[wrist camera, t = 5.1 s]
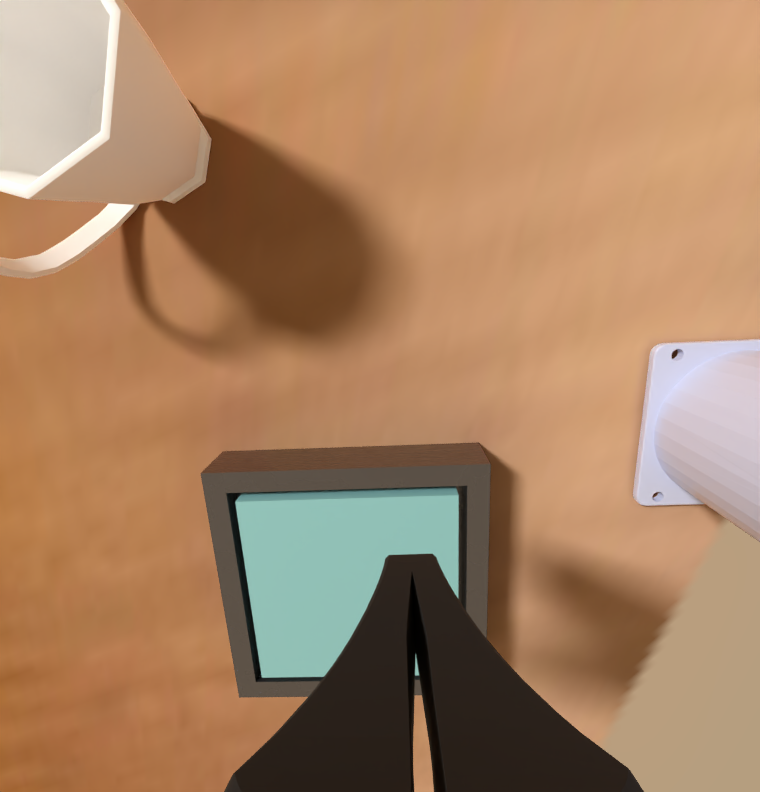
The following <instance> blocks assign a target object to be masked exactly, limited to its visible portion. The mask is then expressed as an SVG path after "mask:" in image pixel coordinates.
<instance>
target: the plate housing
mask: <svg viewBox="0 0 760 792" xmlns="http://www.w3.org/2000/svg"><path fill="white" fill-rule="evenodd" d="M490 473H491V464H490V462H489V460H488V458H487V456H486V455H485V453H484V451H483V449H482V448H481V446H480V444H479V443H460V444H431V445H402V446H372V447H343V448H314V449H285V450H256V451H227V452H222V453H221V454H220V455H219V456H218V457H217V458H216V459H215V460H214V461H213V462H212V463H211V464H210V465H209V466H208V467H207V468H206V469H205V470H204V471H203V472H202V473H201V478H202V484H203V489H204V495H205V501H206V507H207V513H208V518H209V524H210V530H211V536H212V542H213V547H214V553H215V559H216V565H217V571H218V577H219V582H220V588H221V594H222V600H223V606H224V611H225V617H226V623H227V629H228V635H229V640H230V646H231V652H232V658H233V664H234V670H235V675H236V681H237V687H238V693H239V697H309V695H310V694H311V693H312V692H313V690H314V689H315V688H316V687H317V685H318V684H319V683H320V681H321V680H322V679H323V677H272V678H262V675H261V668H260V662H259V655H258V649H257V642H256V635H255V629H254V622H253V616H252V609H251V602H250V596H249V589H248V583H247V576H246V570H245V563H244V556H243V550H242V543H241V537H240V530H239V523H238V517H237V510H236V504H235V502H236V500H237V499H238V497H239V496H240V495H241V493H244V492H277V491H310V490H342V489H375V488H408V487H440V486H456V489H457V492H458V495H459V534H458V599H459V601H460V602H461V604H462V605H463V607H464V608H465V610H466V611H467V613H468V614H469V616H470V617H471V619H472V620H473V621H474V623H475V624H476V625H477V627H478V628H479V629H480V631H481V632H482V634H483V635H484V636H485V637H486V639H487V602H488V559H489V516H490ZM414 695H422V691H421V685H420V678H419V675H415V693H414Z"/></svg>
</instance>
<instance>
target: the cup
mask: <svg viewBox="0 0 760 792" xmlns="http://www.w3.org/2000/svg"><path fill="white" fill-rule="evenodd" d="M211 140H212V139H211V137H210V136H209V134H208V132H207V131H206V129H205V127H204V126H203V124H202V122H201V121H200V119H199V117H198V116H197V114H196V112H195V111H194V109H193V107H192V106H191V104H190V102H189V101H188V99H187V98H186V97H185V96H184V94H183V92H182V91H181V89H180V87H179V86H178V84H177V82H176V81H175V79H174V78H173V76H172V74H171V73H170V71H169V69H168V68H167V66H166V64H165V63H164V61H163V59H162V58H161V56H160V54H159V53H158V51H157V49H156V48H155V46H154V44H153V43H152V41H151V39H150V38H149V36H148V35H147V33H146V32H145V30H144V29H143V28H142V26H141V25H140V23H139V22H138V20H137V19H136V18H135V16H134V15H133V13H132V12H131V10H130V9H129V8H128V6H127V5H126V3H125V2H124V0H0V191H2V192H5V193H9V194H12V195H16V196H20V197H23V198H27V199H37V200H53V201H77V202H99V203H109V204H108V205H107V206H106V207H105V208H104V209H103V210H102V211H101V212H100V213H99V214H98V215H97V216H96V217H94V218H93V219H92V220H90V221H89V222H88V223H87V224H85V225H84V226H83V227H81V228H80V229H79V230H77V231H76V232H75V233H73V234H72V235H70V236H69V237H68V238H66V239H65V240H64V241H62V242H61V243H59V244H57V245H55V246H54V247H52V248H50V249H48V250H47V251H45V252H43V253H41V254H40V255H35V256H29V257H24V258H19V259H9V258H3V257H0V274H1V275H4V276H9V277H18V278H28V279H31V278H36V277H40V276H44V275H49V274H53V273H56V272H58V271H60V270H62V269H63V268H65V267H67V266H69V265H71V264H72V263H74V262H76V261H78V260H79V259H80V258H82V257H83V256H84V255H86V254H87V253H88V252H90V251H91V250H92V249H93V248H95V247H96V246H97V245H99V244H100V243H101V242H102V241H103V240H105V239H106V238H107V237H108V236H110V235H111V234H112V233H113V232H114V231H116V230H117V229H118V228H119V227H120V226H121V225H122V224H123V223H124V222H125V221H126V220H127V219H128V218H129V217H130V216H131V215H132V214H133V213H134V212H135V211H136V209H137V208H138V206H139V204H141V203H147V202H154V201H160V200H163V201H167V202H170V203H176V202H177V201H179V200H180V199H182V198H183V197H185V196H186V195H188V194H189V193H190V192H192V191H193V190H195V189H196V188H198V187H199V186H201V185H202V184H203V183H205V182H206V175H207V168H208V161H209V154H210V147H211Z"/></svg>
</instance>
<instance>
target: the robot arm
mask: <svg viewBox="0 0 760 792" xmlns="http://www.w3.org/2000/svg"><path fill="white" fill-rule="evenodd" d="M676 349H677V351H678V354H677V356H676V357H675V358H674V359H672V356H671V355H672V352H673V351H674V350H676ZM656 492H658V495H657V496H656V497H653V498H652V496H653V494H655V493H656ZM633 498H634V499H635V501H637V502H638V503H639V504H641V505H644V506H657V505H692V504H706V505H707V506H709V507H710V508H712V509H713V510H714V511H716V512H717V513H719V514H720V515H722V516H723V517H724V518H726V519H727V520H729V521H730V522H732V523H733V524H735V525H736V526H737V527H739V528H740V529H742V530H743V531H745V532H746V533H748V534H749V535H751V536H752V537H753V538H755V539H756V540H758V541H759V542H760V339H746V340H723V341H699V342H675V343H661V344H657V345H656V346H654V347H653V349H652V350H651V353H650V357H649V366H648V374H647V382H646V390H645V399H644V407H643V415H642V424H641V432H640V440H639V448H638V457H637V465H636V473H635V481H634V490H633ZM416 658H417V665H418V672H419V678H420V685H421V691H422V698H423V704H424V711H425V718H426V724H427V731H428V737H429V744H430V752H431V761H432V771H433V784H434V792H644V791H643V790H642V788H641V787H640V785H639V783H638V782H637V780H636V779H635V777H634V776H633V774H632V773H631V771H630V770H629V769H628V768H627V767H626V766H624V765H623V764H622V763H620V762H619V761H618V760H616V759H615V758H614V757H612V756H611V755H609V754H608V753H607V752H606V751H604V750H603V749H602V748H600V747H599V746H598V745H596V744H595V743H594V742H592V741H591V740H590V739H588V738H587V737H586V736H584V735H583V734H582V733H581V732H579V731H578V730H577V729H576V728H575V727H573V726H572V725H571V724H570V723H569V722H568V721H566V720H565V719H564V718H563V717H562V716H561V715H559V714H558V713H557V712H556V711H555V710H554V709H553V708H552V707H551V706H550V705H549V704H548V703H547V702H546V701H545V700H543V699H542V698H541V697H540V696H539V695H538V694H537V693H536V692H535V691H534V690H533V689H532V688H531V687H530V686H529V685H528V684H527V683H526V682H525V681H524V680H523V679H522V678H521V677H520V676H519V675H518V674H517V673H516V672H515V671H514V670H513V669H512V668H511V667H510V666H509V664H508V663H507V662H506V661H505V660H504V659H503V658H502V657H501V655H500V654H499V653H498V652H497V651H496V650H495V648H494V647H493V646H492V645H491V644H490V642H489V641H488V640H487V639H486V637H485V636H484V635H483V634H482V632H481V631H480V629H479V628H478V627H477V625H476V624H475V623H474V621H473V620H472V619H471V617H470V616H469V614H468V613H467V611H466V610H465V608H464V607H463V605H462V604H461V602H460V601H459V599H458V598H457V596H456V595H455V593H454V591H453V590H452V588H451V586H450V584H449V583H448V581H447V579H446V577H445V575H444V573H443V572H442V569H441V567H440V565H439V563H438V560H437V558H436V556H435V555H433V554H403V555H388V556H387V557H386V558H385V562H384V566H383V570H382V573H381V576H380V579H379V581H378V584H377V586H376V589H375V591H374V593H373V595H372V598H371V600H370V602H369V604H368V606H367V608H366V610H365V612H364V614H363V616H362V618H361V620H360V622H359V623H358V625H357V627H356V629H355V631H354V633H353V634H352V636H351V638H350V639H349V641H348V643H347V644H346V646H345V647H344V649H343V651H342V652H341V654H340V655H339V656H338V658H337V659H336V661H335V662H334V664H333V665H332V667H331V668H330V669H329V671H328V672H327V673H326V675H325V676H324V677H323V679H322V680H321V681H320V683H319V684H318V685H317V687H316V688H315V689H314V690H313V692H312V693H311V694H310V695H309V697H308V698H307V699H306V700H305V701H304V703H303V704H302V705H301V706H300V707H299V708H298V709H297V710H296V711H295V713H294V714H293V715H292V716H291V717H290V718H289V719H288V720H287V722H286V723H285V724H284V725H283V726H282V727H281V728H280V729H279V730H278V731H277V732H276V733H275V734H274V735H273V737H272V738H271V739H269V740H268V741H267V742H266V743H265V744H264V745H263V746H262V747H261V748H260V749H259V750H258V751H257V752H256V753H255V754H254V755H253V756H252V757H251V758H250V759H249V760H248V761H246V762H245V763H244V764H243V765H242V766H241V767H240V768H239V769H238V770H237V771H236V772H235V773H234V774H233V775H232V777H231V779H230V781H229V783H228V785H227V787H226V789H225V791H224V792H414V777H413V726H414V693H415V659H416Z"/></svg>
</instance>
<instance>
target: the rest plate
mask: <svg viewBox="0 0 760 792" xmlns="http://www.w3.org/2000/svg"><path fill="white" fill-rule="evenodd" d="M235 504H236V510H237V517H238V523H239V530H240V537H241V543H242V550H243V556H244V563H245V570H246V576H247V583H248V589H249V596H250V602H251V609H252V616H253V622H254V629H255V635H256V642H257V649H258V655H259V662H260V668H261V675H262V678H272V677H324V676H325V675H326V673H327V672H328V671H329V669H330V668H331V667H332V665H333V664H334V662H335V661H336V659H337V658H338V656H339V655H340V654H341V652H342V651H343V649H344V647H345V646H346V644H347V643H348V641H349V639H350V638H351V636H352V634H353V633H354V631H355V629H356V627H357V625H358V623H359V622H360V620H361V618H362V616H363V614H364V612H365V610H366V608H367V606H368V604H369V602H370V600H371V598H372V595H373V593H374V591H375V589H376V586H377V584H378V581H379V579H380V576H381V573H382V570H383V566H384V562H385V558H386V557H387V556H388V555H403V554H433V555H435V556H436V558H437V560H438V563H439V565H440V567H441V569H442V572H443V573H444V575H445V577H446V579H447V581H448V583H449V584H450V586H451V588H452V590H453V591H454V593H455V595H456V596H457V598H458V534H459V495H458V492H457V489H456V486H440V487H408V488H375V489H342V490H310V491H277V492H244V493H241V495H240V496H239V497H238V499H237V500H236V502H235ZM415 675H419V672H418V665H417V658H416V659H415Z"/></svg>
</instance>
